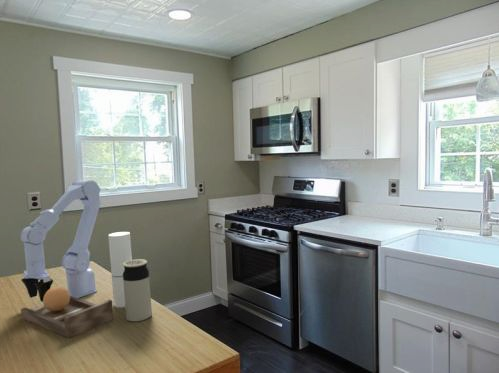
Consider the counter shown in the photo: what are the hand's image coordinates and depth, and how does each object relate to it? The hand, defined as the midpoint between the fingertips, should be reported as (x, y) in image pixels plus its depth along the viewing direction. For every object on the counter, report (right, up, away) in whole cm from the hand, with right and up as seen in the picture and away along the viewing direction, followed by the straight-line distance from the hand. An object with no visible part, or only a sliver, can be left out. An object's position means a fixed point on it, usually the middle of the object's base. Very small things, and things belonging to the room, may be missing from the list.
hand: (38, 298), depth 134 cm
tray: (+14, -4, -10) cm, 18 cm away
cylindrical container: (+30, -2, +1) cm, 30 cm away
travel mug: (+39, -3, -11) cm, 40 cm away
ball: (+10, +2, -7) cm, 12 cm away
